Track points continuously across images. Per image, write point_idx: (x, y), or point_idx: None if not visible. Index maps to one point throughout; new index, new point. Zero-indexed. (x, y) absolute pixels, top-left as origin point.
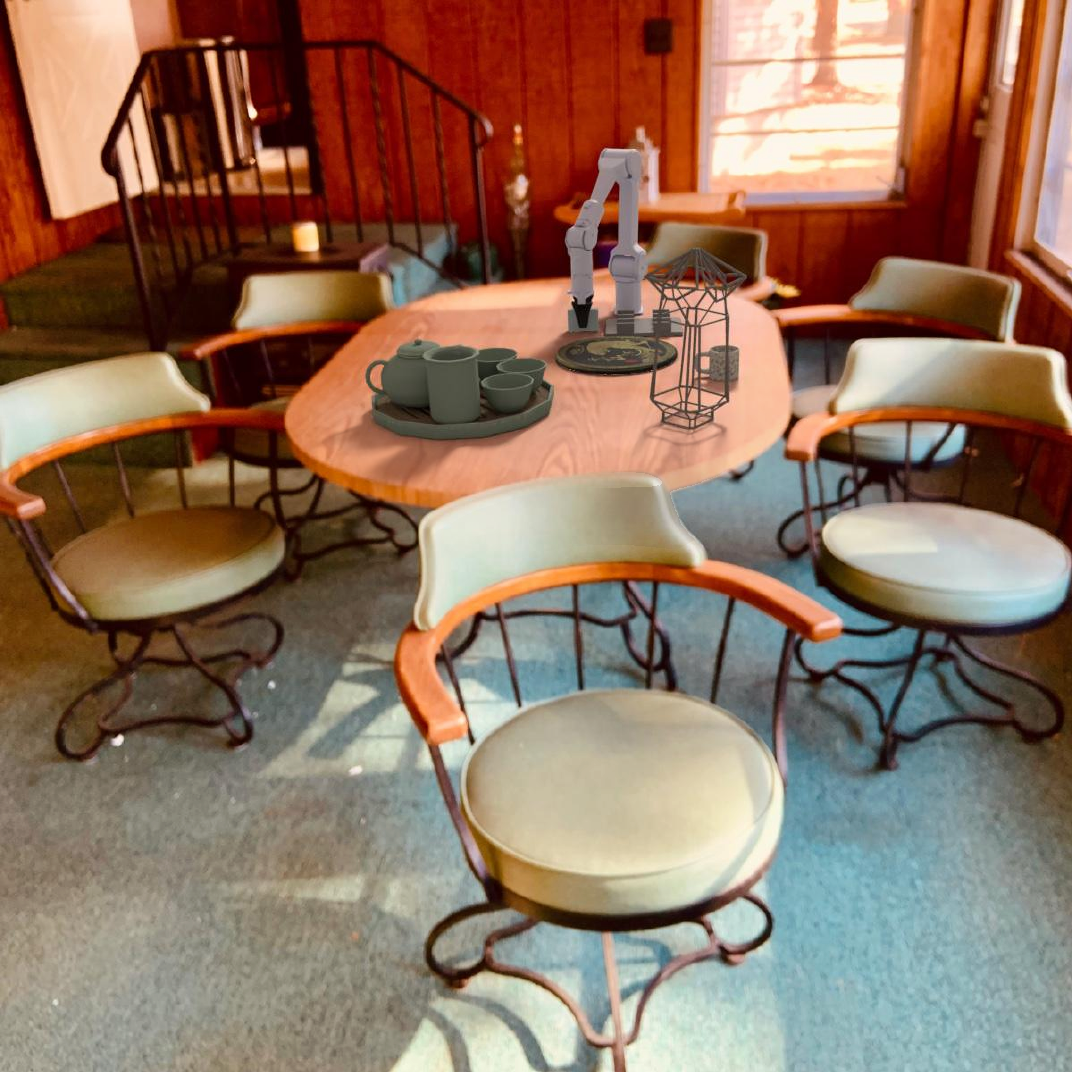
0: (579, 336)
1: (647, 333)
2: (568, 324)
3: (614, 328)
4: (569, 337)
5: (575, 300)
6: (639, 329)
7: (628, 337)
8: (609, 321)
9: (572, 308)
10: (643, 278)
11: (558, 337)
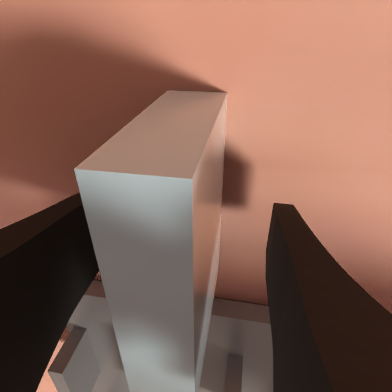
0: (67, 164)
1: (93, 390)
2: (148, 109)
3: None
4: (32, 99)
5: (319, 371)
6: None
7: None
8: None
9: (173, 236)
10: None
11: (13, 6)
